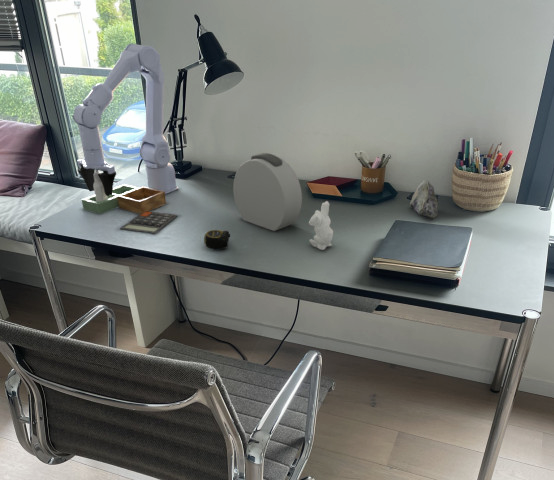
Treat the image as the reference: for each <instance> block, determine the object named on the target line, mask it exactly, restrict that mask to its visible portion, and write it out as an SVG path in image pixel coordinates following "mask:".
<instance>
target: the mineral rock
mask: <svg viewBox="0 0 554 480" xmlns="http://www.w3.org/2000/svg"><path fill="white" fill-rule="evenodd" d="M438 202H439V201H438V199H437V196H436V194H435V188H434V185H432V184H431V183H430V181H429V180H425V179H424V180H422V182H421V183H419V185H418V187H417V188H416V190H415V191H414V193H413V195H412V196H411V200H410V203H409V206H410V207H411V208H413V210H414V211H415V212H417V214H418V215H419V216H424V217H427V218H430V219H435V218H436V217H438V213H439V212H438V208H439V203H438Z"/></svg>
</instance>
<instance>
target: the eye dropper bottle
mask: <svg viewBox="0 0 554 480" xmlns="http://www.w3.org/2000/svg"><path fill="white" fill-rule="evenodd" d="M100 173H101V172H100V171H99V170H95V173H94V174H93V175H94V181H95V182H94V184H93V186H94V191H93V192H94V195H95V197H96V202H101V201H104V200H107V199H108V196H106V194H105V191H104V187H103V184H102V182H101V179H100V178H99V176H98V174H100Z"/></svg>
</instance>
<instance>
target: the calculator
mask: <svg viewBox="0 0 554 480" xmlns="http://www.w3.org/2000/svg"><path fill="white" fill-rule="evenodd" d="M176 218H178V214H174V213H173V214H172V213H164V212H157V211H156V212H155V211H146V212H144V213H141V214H139V213H138V215H136V216H135V217H133V218H132V219H131V220H130V221H128V222H126V223H125V224H124V225H122V226H121V227H120V228H119V230H121V231H128V232H136V233H144V234H151V235H156V234H158V232H160V231H161V230H163V229H164V228H165V227H167V226H168V225H169V224H170V223H171V222H173V221H174V220H176Z"/></svg>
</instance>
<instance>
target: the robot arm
mask: <svg viewBox="0 0 554 480" xmlns="http://www.w3.org/2000/svg"><path fill="white" fill-rule="evenodd" d="M116 61H117V62H116V63H115V64H114V66H113V68H112V69H111V70H110V72H109V74H108V75H107V76H106V78H105V79H104V81H103V83H96V84H93V85H92V87H91V91H90V92H89V94H88V95H87V96H86V97H85V98H83V99H82V104H81V103H79V104H78V105H76V106H75V108H74V109H73V114H72V116H71V117H72V120H73V121H74V122H75V124H77V127H78V132H79V137H80V142H81V143H80V144H81V147H82V153H83V158H79V159H77V160H76V162H77V167H80V168H78V169H77V172H78V174H80V176H81V177H82V179H83V181H84V182H85V185H86V188H87V189H88V191H89V192H94V186H93V184H94V182H95V181H94V175H93V174H94V173H95V170H98V171H99V173H100V174H98V176H99V178H100V179H101V182H102V184H103V187H104V191H105V194H106V196H109V195H112V190H113V188H114V182H115V178H116V176H117V171H116V168H115V166H114V165H112V164H110V163H108V162H106V160H105V157H104V156H105V155H104V149H103V145H102V139H101V134H100V128H99V125H100V124H101V122H102V115H103V113H104V112H105V111H106V109H107V108H108V107H109V105H110V104H111V103H112V101H113V100H114V92H115V90H116V89H117V88H119V86H120V84H121V83H122V82H123V81H124V80H125V79H126V78H127V76H128V75H129V74H130V73H135V72H138V73H139V74H140V75H141V76H142V77H143V78H144V79H145V82H146V83H145V134H143V136H142V137H141V144H140V147H139V152H138V154H139V157H140V158H141V160H143V164H144V167H145V173H146V181H147V188H152V189H156V190H160V191H164V192H165V195H168V194H170V193H171V192H174V191H176V190H179V187H178V186H177V181H176V180H177V179H176V171H175V168H174V166H173V164H172V163H171V162H170V160H171V151H170V150H169V141H168V140H167V139H166V138H165V136H164V108H165V106H164V104H165V73H164V69H163V67H162V64H161V54H160V53H159V52H158V51H157V50H156V49H155V48H154V47H153V46H152V45H144V44H143V45H142V44H137V43H131V42H130V43H129V44H127V45H126V46H125V48H124V49H123V50H122V51H121V52H120V55H119V58H118V60H116Z"/></svg>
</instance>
